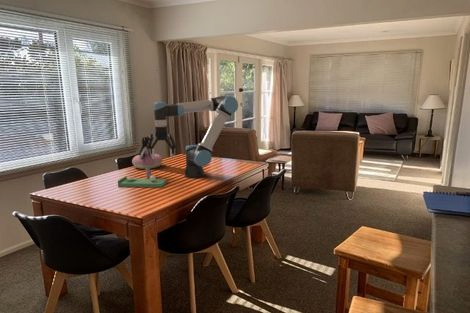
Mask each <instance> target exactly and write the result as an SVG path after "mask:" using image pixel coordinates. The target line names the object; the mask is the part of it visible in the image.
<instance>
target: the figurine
mask: <svg viewBox="0 0 470 313" xmlns="http://www.w3.org/2000/svg"><path fill="white" fill-rule="evenodd" d="M150 139H151V137H149V136H145V137H142V138H141V147H140V149H139V152H138V155H140V159H142V160H143V162H142V164H141V165H142V166H146V169H145V174H146V178H150V176H152V175H153V174H152V172H151V169H150V166H153V165H154V164H155V163H154V160H153V158H152V154H151V149H150V148H148V145H149V142H150ZM138 160H139V159H138Z"/></svg>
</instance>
